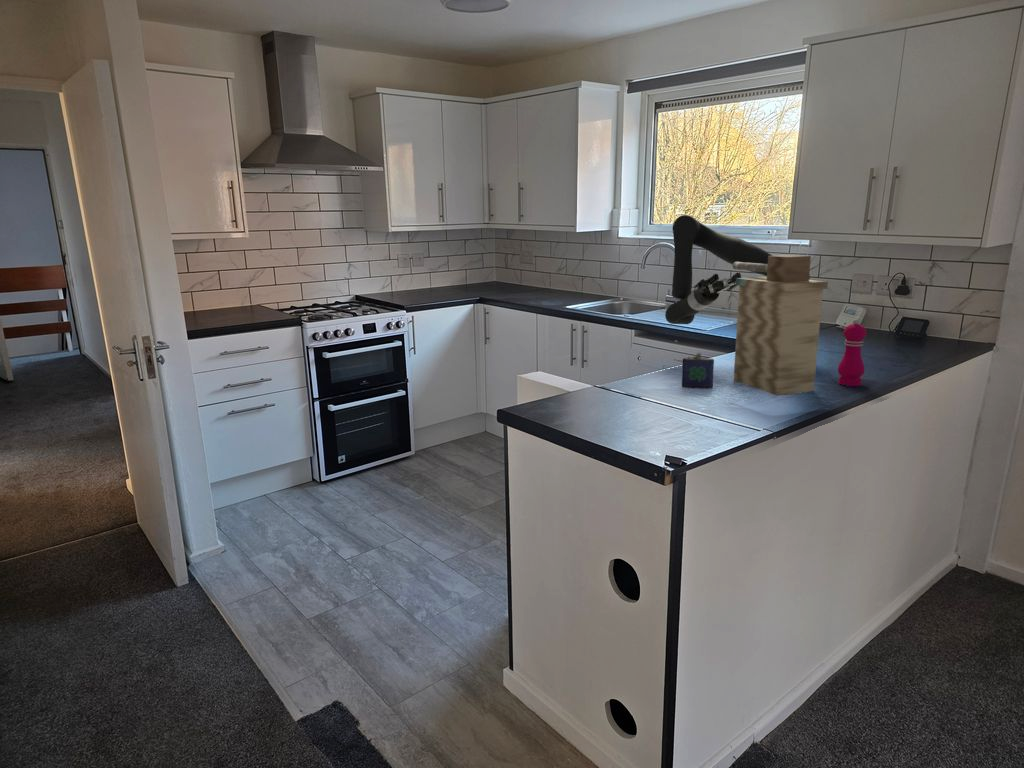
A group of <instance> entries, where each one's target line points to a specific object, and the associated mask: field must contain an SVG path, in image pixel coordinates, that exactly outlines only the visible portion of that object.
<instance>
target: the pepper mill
mask: <svg viewBox="0 0 1024 768" xmlns="http://www.w3.org/2000/svg"><path fill="white" fill-rule="evenodd" d="M866 336H867V329H866V327H865V326H864V325H862V324H860V319H858V318H854V319H853V320H852V324H851V323H850V324H848V325H846V327H845V328H844V330H843V337H844V338H845V340H844V345H845V351H844V355H843V356H842V359H841V360H840V362H839V363H838V367H837V373H838V374H839V375H840V376H839V377H838V381H837V383H838V385H840V384H842V385H841V386H843V385H848V386H847V387H851V386H856V387H860V386H862V378H861V377H862V376H863V375H864V374H865V364H864V361H863V358H862V354H861V353H862V347H863V346H864V340H863V339H865V338H866ZM859 385H860V386H859Z"/></svg>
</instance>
